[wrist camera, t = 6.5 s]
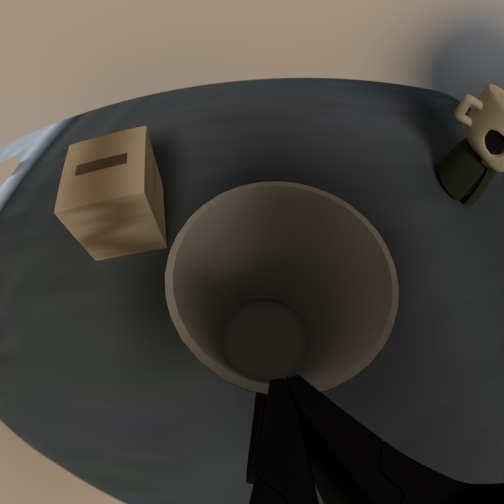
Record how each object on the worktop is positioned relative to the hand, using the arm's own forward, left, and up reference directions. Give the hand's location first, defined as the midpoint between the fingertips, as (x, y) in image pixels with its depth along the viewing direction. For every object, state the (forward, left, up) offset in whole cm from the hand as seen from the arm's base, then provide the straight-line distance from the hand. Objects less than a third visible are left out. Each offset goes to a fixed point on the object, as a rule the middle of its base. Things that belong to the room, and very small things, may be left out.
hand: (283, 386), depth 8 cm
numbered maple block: (-2, +16, -11) cm, 19 cm away
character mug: (+30, +4, -11) cm, 32 cm away
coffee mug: (+1, +2, -11) cm, 11 cm away
